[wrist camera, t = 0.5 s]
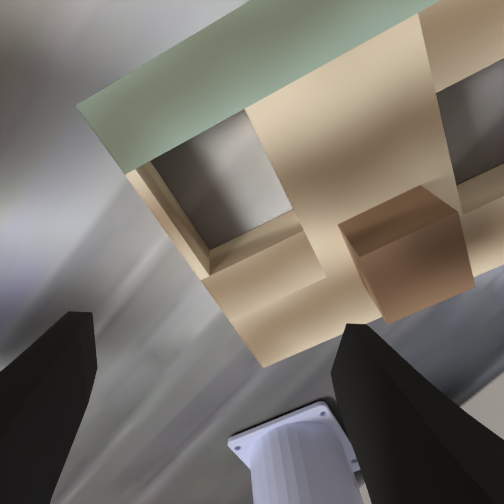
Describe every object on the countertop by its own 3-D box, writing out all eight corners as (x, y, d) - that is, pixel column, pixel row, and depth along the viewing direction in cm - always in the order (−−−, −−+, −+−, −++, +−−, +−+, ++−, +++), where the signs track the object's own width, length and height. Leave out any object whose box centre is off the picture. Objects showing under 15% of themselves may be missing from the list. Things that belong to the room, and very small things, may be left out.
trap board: (545, 209, 21) (584, 229, 19) (258, 337, 24) (263, 368, 22) (512, -155, 13) (570, -192, 11) (93, 96, 16) (75, 105, 14)
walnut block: (438, 252, 19) (475, 286, 16) (363, 286, 19) (387, 324, 17) (420, 184, 17) (458, 211, 14) (337, 224, 17) (359, 257, 15)
